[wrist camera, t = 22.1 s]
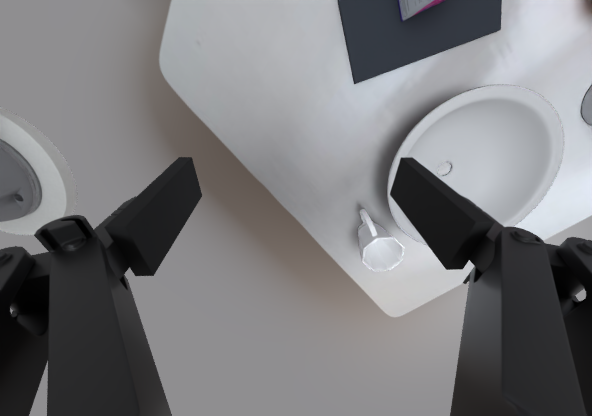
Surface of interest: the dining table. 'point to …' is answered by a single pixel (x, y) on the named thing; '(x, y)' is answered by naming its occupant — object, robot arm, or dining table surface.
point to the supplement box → (414, 7)
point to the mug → (587, 107)
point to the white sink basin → (488, 151)
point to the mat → (410, 31)
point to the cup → (378, 246)
